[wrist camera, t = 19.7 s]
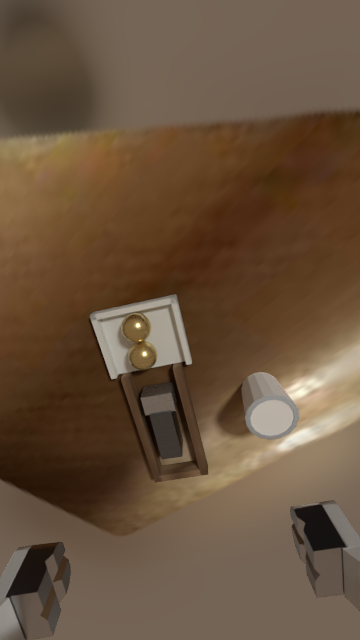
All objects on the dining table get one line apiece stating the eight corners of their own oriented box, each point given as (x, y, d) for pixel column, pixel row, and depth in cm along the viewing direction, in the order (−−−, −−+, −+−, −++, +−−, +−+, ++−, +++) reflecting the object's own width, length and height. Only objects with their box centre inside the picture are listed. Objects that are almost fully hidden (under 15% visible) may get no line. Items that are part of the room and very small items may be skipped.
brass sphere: (161, 352, 43) (154, 333, 40) (159, 374, 40) (151, 355, 37) (135, 355, 43) (126, 337, 41) (131, 377, 40) (121, 359, 38)
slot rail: (181, 361, 43) (181, 367, 41) (207, 464, 49) (208, 474, 47) (123, 372, 44) (120, 379, 42) (156, 472, 50) (155, 482, 48)
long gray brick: (171, 394, 41) (186, 455, 44) (172, 380, 44) (186, 438, 47) (140, 399, 41) (157, 459, 44) (143, 385, 44) (159, 442, 48)
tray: (176, 294, 39) (175, 296, 38) (191, 359, 43) (191, 363, 41) (92, 312, 41) (89, 315, 39) (113, 374, 44) (111, 379, 42)
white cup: (257, 415, 45) (268, 448, 39) (227, 388, 44) (234, 417, 37) (292, 388, 44) (310, 418, 37) (262, 359, 42) (275, 385, 36)
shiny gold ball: (155, 324, 41) (147, 304, 39) (154, 346, 38) (145, 325, 36) (128, 329, 42) (118, 309, 39) (125, 351, 39) (114, 330, 36)
